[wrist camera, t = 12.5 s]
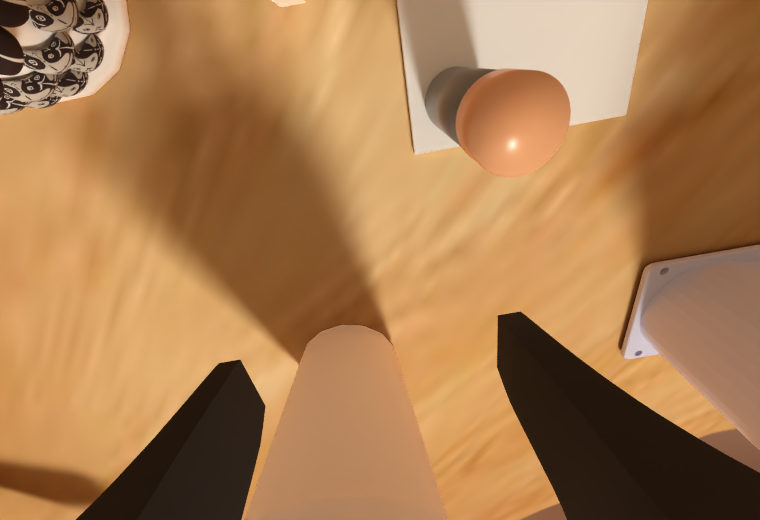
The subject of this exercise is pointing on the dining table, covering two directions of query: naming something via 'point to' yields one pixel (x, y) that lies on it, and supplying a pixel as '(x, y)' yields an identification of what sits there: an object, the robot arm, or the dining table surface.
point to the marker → (501, 116)
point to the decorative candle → (58, 49)
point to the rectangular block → (288, 2)
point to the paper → (523, 50)
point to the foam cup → (347, 439)
